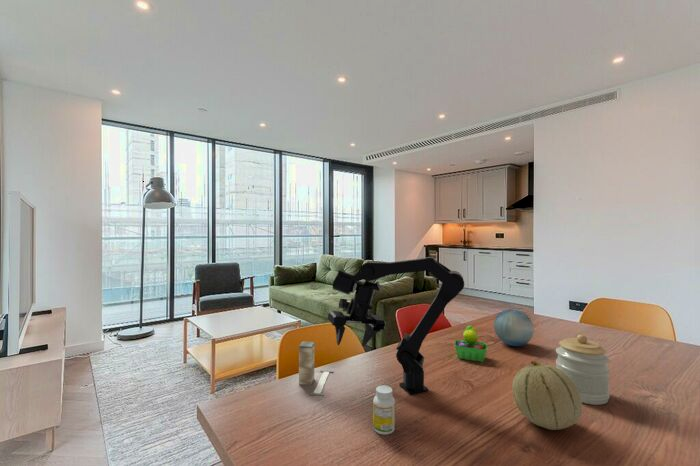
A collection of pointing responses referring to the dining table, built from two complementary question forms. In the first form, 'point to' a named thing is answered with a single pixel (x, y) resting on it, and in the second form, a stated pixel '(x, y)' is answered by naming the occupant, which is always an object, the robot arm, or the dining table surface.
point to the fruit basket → (470, 346)
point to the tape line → (321, 383)
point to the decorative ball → (513, 327)
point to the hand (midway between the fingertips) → (350, 344)
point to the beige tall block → (306, 363)
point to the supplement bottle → (384, 410)
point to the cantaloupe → (547, 396)
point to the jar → (585, 368)
